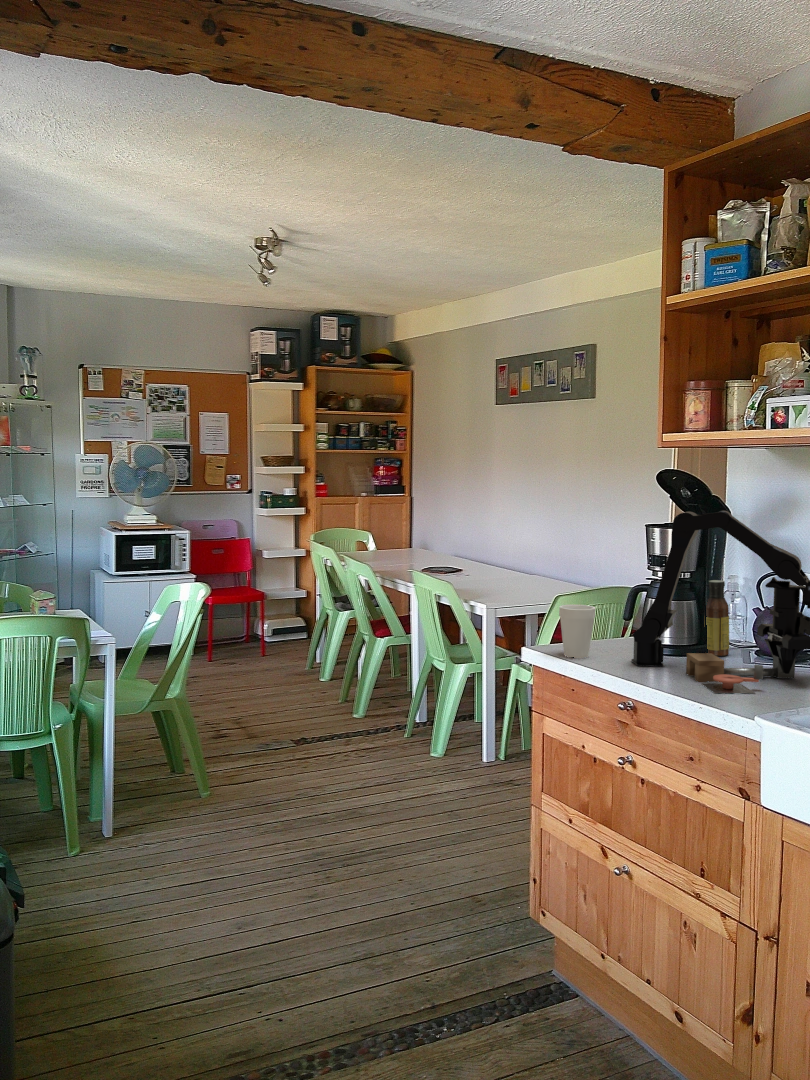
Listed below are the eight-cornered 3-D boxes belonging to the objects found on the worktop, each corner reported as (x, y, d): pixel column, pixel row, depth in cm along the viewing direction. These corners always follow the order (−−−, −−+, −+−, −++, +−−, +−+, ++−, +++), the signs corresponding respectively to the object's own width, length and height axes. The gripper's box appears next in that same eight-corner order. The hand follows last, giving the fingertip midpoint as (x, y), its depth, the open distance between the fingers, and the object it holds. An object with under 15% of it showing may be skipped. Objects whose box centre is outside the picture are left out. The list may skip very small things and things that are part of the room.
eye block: (698, 681, 217) (698, 660, 217) (686, 673, 226) (686, 653, 226) (723, 681, 218) (724, 660, 217) (710, 673, 226) (711, 653, 226)
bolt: (723, 678, 220) (724, 657, 220) (718, 675, 223) (719, 654, 223) (794, 678, 221) (795, 657, 220) (788, 675, 224) (789, 654, 223)
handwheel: (715, 690, 208) (716, 667, 208) (710, 683, 214) (711, 661, 214) (765, 692, 207) (766, 668, 206) (758, 685, 213) (759, 662, 212)
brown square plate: (715, 693, 206) (715, 692, 206) (701, 684, 215) (701, 683, 215) (755, 693, 206) (755, 692, 206) (739, 684, 215) (739, 683, 215)
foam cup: (572, 660, 240) (573, 610, 239) (551, 654, 248) (552, 605, 247) (601, 657, 244) (603, 608, 243) (579, 651, 252) (580, 603, 251)
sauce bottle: (725, 652, 252) (728, 579, 250) (731, 657, 246) (734, 582, 244) (700, 651, 252) (703, 579, 251) (706, 656, 246) (708, 582, 245)
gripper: (839, 613, 212) (835, 681, 213) (802, 601, 230) (799, 663, 232) (790, 613, 211) (787, 681, 213) (757, 601, 230) (755, 663, 231)
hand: (783, 671), depth 222 cm, fingers closed on bolt, 3 cm apart
